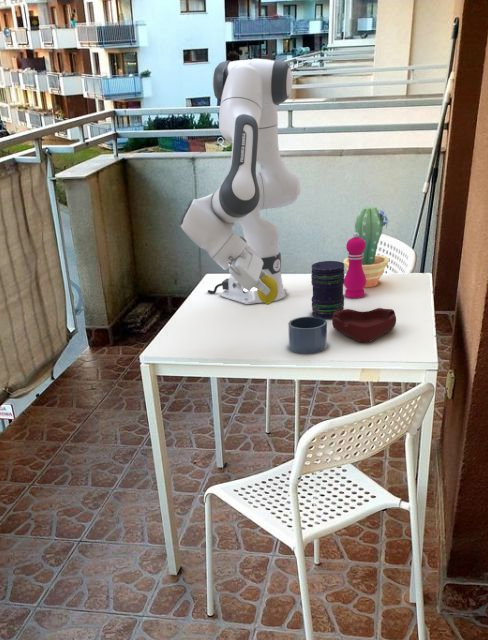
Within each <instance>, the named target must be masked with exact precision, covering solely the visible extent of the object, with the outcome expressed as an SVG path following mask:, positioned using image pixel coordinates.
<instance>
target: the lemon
mask: <svg viewBox="0 0 488 640" xmlns="http://www.w3.org/2000/svg"><path fill="white" fill-rule="evenodd" d="M261 282H262V283H264V284H265V285H267V286H268V287H269V288H270V289H271V290H270V292H269V293H268V294H267V295H265V294H264V293H263V292H262V291H260V290H258V289H257V294H258V297H259V299H260V300H261V301H262V302H264V303H263V304H265V305H267V306H269V305H270V304H271V303H273V302H275V301H274V300H275V299H276V297H277V294H278V287H277V283H276V281H275V280H274V279H273V278H272V277H269V276H268V275H266V276H265V277H263V278H262V279H261Z"/></svg>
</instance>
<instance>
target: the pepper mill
mask: <svg viewBox="0 0 488 640" xmlns="http://www.w3.org/2000/svg"><path fill="white" fill-rule="evenodd" d="M352 236H353V237H351V238H349V240H347V242H346V244H345V245H346V247H345V248H346V251H347V252H348V253H347V258H348V259H349V268H348V271H347V270H346V273H345V277H344V280H345V281H344V284H343V287H345V290H344V297H346V298H348V299H360V298H363V297H364V296H365V289H364V288H365V287H364V286H365V285H366V277H365V274H364V271H363V268H362V258H363V257H364V256H363V255H364V253H363V251H364V249H365V241H364V240H363V239H362V238H359V234H358V233H357V232H356V233H355V232H354V233H353V234H352Z"/></svg>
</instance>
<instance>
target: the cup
mask: <svg viewBox="0 0 488 640" xmlns="http://www.w3.org/2000/svg"><path fill="white" fill-rule="evenodd" d="M287 327H288V348H289V350H290V351H291V352H292V353H295V354H301V355H311V354H312V355H313V354H318V353H321V352H323V351H325V350H326V349H327V344H328V321H327V319H323V318H320V317H313V316H310V315H309V316H300V317H296V318H293V319H291V320H289V322H288V324H287Z"/></svg>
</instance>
